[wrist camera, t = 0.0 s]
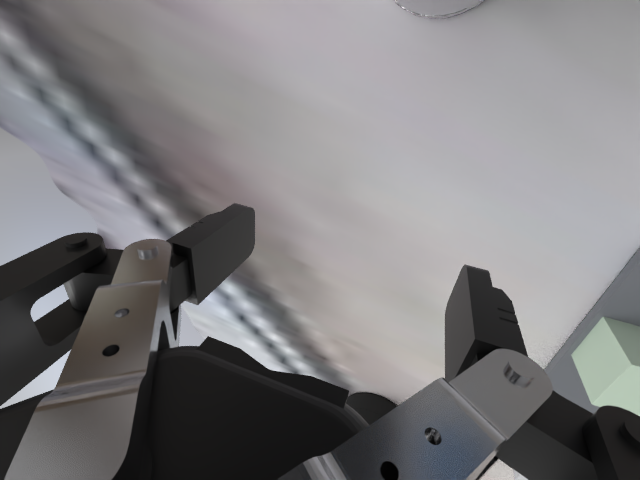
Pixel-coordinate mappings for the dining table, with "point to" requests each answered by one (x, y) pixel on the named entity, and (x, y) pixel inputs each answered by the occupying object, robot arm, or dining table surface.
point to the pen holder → (370, 406)
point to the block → (611, 364)
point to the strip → (616, 303)
